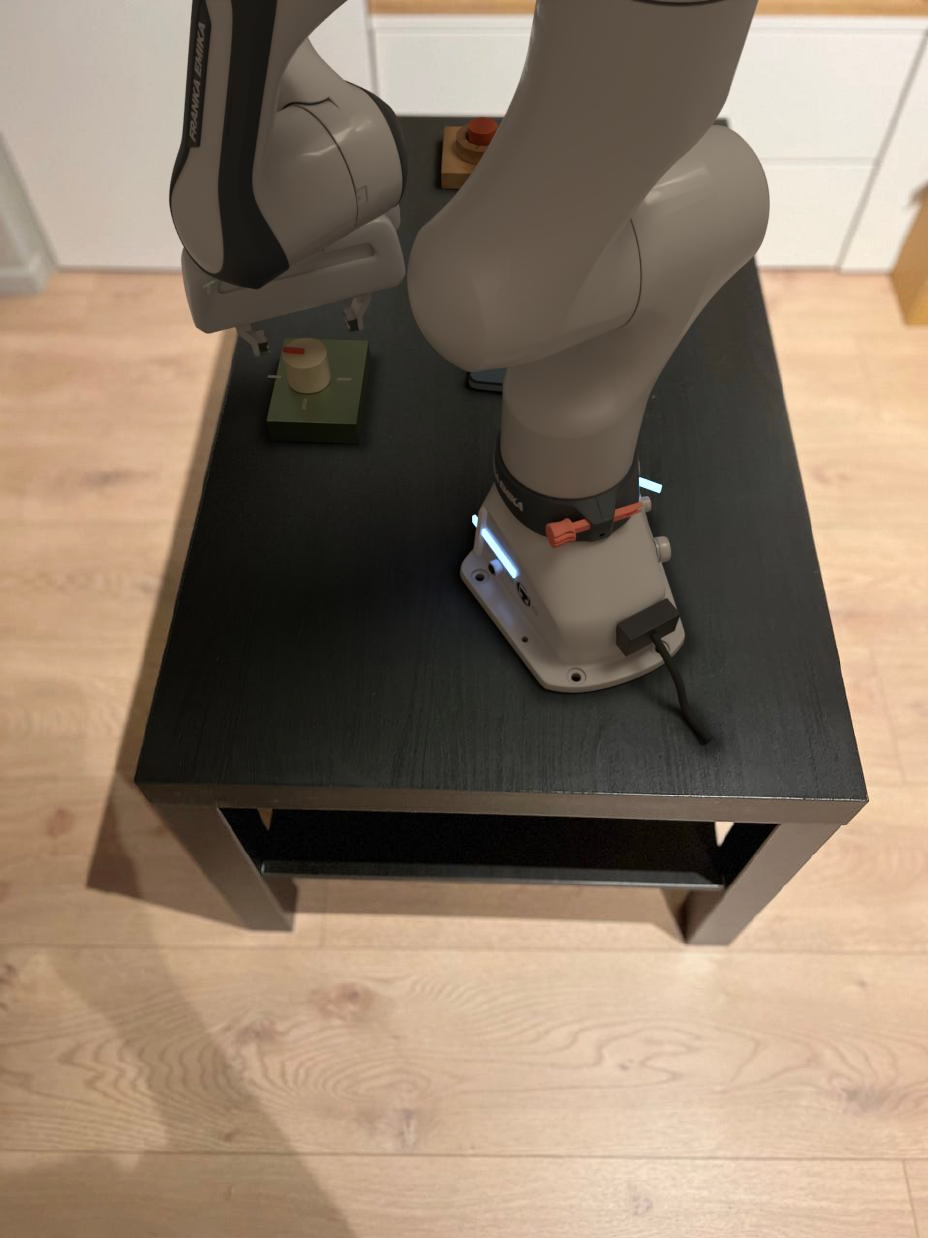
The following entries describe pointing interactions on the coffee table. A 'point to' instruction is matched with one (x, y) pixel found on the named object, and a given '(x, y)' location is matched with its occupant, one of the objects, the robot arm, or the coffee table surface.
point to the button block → (458, 156)
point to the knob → (306, 365)
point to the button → (481, 131)
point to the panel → (323, 398)
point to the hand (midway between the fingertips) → (308, 339)
